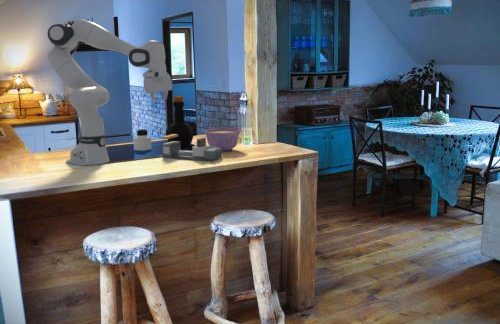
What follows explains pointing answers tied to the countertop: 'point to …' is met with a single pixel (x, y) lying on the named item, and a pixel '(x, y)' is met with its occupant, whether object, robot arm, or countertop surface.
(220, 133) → the bowl of food
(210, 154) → the rail
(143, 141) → the medicine bottle
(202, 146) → the carriage
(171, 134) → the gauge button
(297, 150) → the countertop surface
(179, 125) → the bottle
